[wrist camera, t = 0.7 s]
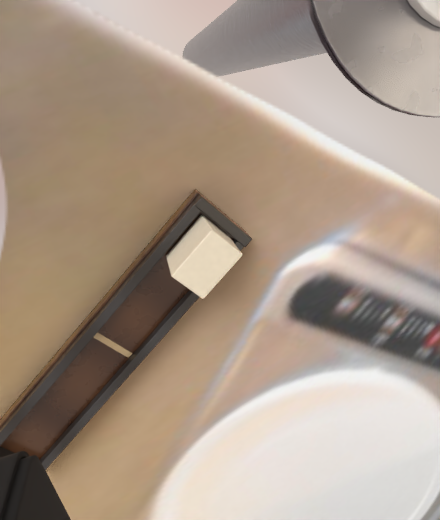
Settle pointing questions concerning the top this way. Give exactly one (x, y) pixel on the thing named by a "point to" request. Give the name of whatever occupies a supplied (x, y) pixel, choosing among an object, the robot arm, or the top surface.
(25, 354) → the top surface
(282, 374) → the top surface
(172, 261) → the cream block
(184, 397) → the top surface
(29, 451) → the rail
